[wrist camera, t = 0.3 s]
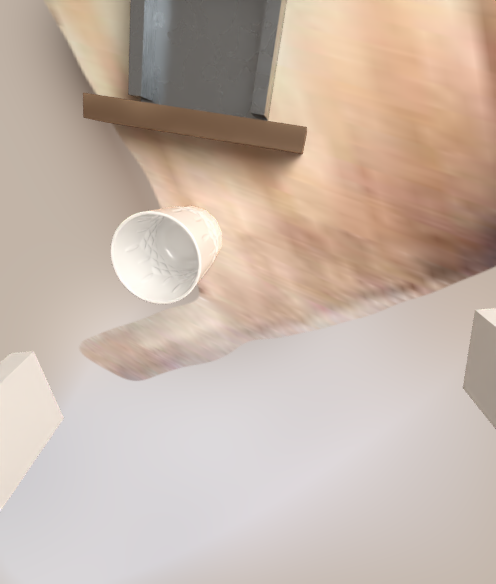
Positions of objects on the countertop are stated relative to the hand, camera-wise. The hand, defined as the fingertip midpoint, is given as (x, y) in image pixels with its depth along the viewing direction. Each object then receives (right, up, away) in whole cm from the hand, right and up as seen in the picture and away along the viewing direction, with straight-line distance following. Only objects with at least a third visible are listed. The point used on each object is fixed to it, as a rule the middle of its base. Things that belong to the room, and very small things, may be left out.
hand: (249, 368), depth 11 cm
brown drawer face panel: (-4, +18, +23) cm, 30 cm away
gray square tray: (-3, +24, +21) cm, 32 cm away
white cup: (-6, +8, +28) cm, 29 cm away
